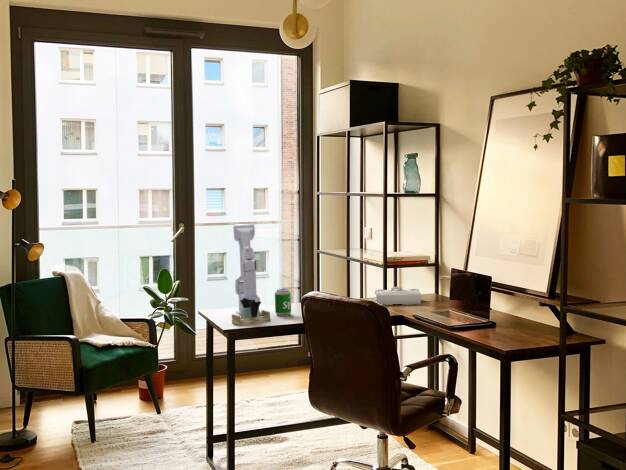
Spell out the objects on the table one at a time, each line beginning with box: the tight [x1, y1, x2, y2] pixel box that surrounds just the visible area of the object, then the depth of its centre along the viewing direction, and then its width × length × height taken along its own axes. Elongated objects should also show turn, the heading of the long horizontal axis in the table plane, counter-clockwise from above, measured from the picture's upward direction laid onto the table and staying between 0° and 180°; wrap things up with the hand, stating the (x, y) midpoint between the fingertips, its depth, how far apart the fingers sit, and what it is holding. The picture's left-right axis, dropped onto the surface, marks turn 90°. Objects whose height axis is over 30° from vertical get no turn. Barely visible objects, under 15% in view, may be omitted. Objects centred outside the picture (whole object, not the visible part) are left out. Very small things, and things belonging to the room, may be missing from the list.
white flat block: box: [374, 286, 431, 306], centre depth 363 cm, size 19×28×8 cm
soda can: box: [274, 288, 292, 317], centre depth 338 cm, size 8×8×12 cm
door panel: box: [240, 307, 260, 319], centre depth 323 cm, size 8×3×6 cm, turn 123°
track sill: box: [231, 309, 271, 327], centre depth 324 cm, size 16×6×4 cm, turn 123°
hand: (250, 315), depth 324 cm, fingers open, 6 cm apart
